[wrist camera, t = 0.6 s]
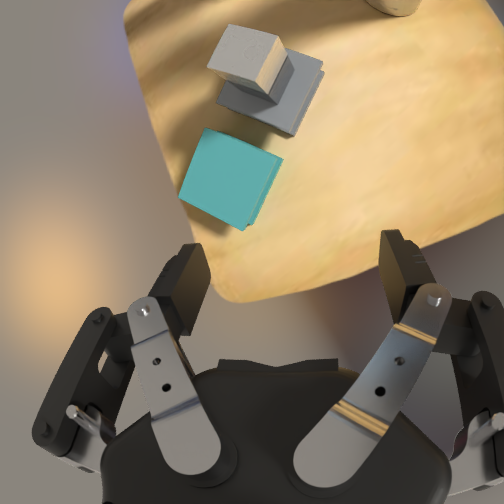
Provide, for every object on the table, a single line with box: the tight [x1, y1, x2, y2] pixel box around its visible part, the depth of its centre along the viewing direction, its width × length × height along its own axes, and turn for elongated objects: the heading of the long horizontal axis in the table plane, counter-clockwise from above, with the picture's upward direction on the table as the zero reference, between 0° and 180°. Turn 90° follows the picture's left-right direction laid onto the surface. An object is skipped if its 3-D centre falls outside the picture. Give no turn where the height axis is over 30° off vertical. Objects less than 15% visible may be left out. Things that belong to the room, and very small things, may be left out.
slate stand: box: [216, 48, 324, 136], centre depth 32 cm, size 10×10×5 cm
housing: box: [207, 24, 295, 105], centre depth 25 cm, size 5×5×10 cm
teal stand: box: [178, 128, 284, 231], centre depth 37 cm, size 10×10×5 cm
